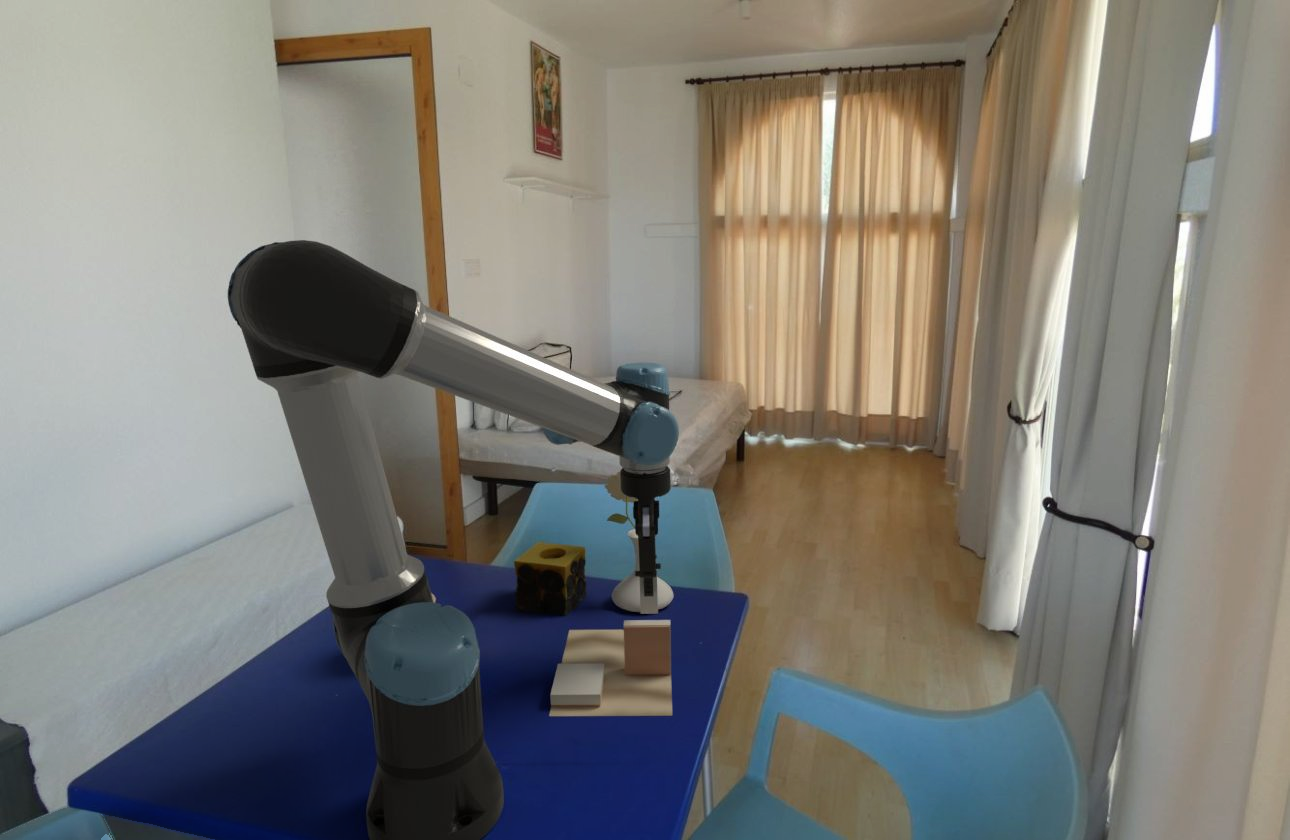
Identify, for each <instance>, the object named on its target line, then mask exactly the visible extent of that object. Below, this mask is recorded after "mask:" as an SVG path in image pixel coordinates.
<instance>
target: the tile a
mask: <svg viewBox="0 0 1290 840" xmlns="http://www.w3.org/2000/svg"><path fill="white" fill-rule="evenodd" d="M604 675H605V666H604V664H561V663H557V666H556V671H555V674H554V679H553V683H552V687H551V691H550V694H549V695H550V706H551V705H552V707H600V705H601V699H602V691H603V683H604Z"/></svg>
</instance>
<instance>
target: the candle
mask: <svg viewBox="0 0 1290 840" xmlns="http://www.w3.org/2000/svg"><path fill="white" fill-rule="evenodd" d="M586 559H587V558H586V547H585V546H580V545H569V544H560V543H548V542H541V541H537V542H535V543H534V544H533V545H532V546H531V547H529V548H528V550H526V551H525V552H524V553H522V554H521V555H519V556H518V557H517V558H516V559H514V561H513V562H514V563H513V566H514V570H515V571H514V572H515V576H516V588H515V592H514V594H515V601H514V602H515V612H528V613H539V614H552V615H558V616H562V617H563V616H564V617H567V616H568V615H569V614H570V612H573V611H574V610H575V609H576V608H578V606H579V604H580V603H581V602H582V601H583V599H584V598H586V597H587V581H586V568H585V567H586V563H587V562H586V561H587V560H586Z"/></svg>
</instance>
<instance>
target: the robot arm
mask: <svg viewBox="0 0 1290 840" xmlns="http://www.w3.org/2000/svg"><path fill="white" fill-rule="evenodd" d="M229 279H230V280H229V282H228V289H227V303H228V307H229V311H230V313H231V316H232V318H233V319H234V321H235V322H236V324H237V326H238V327H239V328H240V329H241V332H242V335H243V338H244V342H245V345H246V347H247V351H248V354H249V357H250V360H251V363H252V366H253V370H254V373H255V376H256V378H257V380H258V381H260V382H262V383H264V384H265V385H268V386H270V387H272V388H273V389H274V390H275V391H276V392H277V394H278V395H277V396H278V398H279V401H280V405H281V408H282V411H283V414H284V417H285V420H286V423H287V428H288V430H289V433H290V437H291V440H292V444H293V446H294V449H295V452H296V456H297V459H298V462H299V465H300V468H301V473H302V475H303V479H304V481H305V485H306V489H307V491H308V494H309V498H310V501H311V504H312V508H313V510H314V511H313V512H314V515H315V517H316V521H317V524H318V527H319V531H320V533H321V536H322V540H323V543H324V546H325V550H326V553H327V556H328V559H329V562H330V565H331V569H332V571H333V574H334V575H333V576H334V579H333V580H332V582H331V583H330V585H329V586H328V588H327V591H326V600H327V603H328V606H329V609H330V612H331V615H332V626H333V637H334V639H335V642H336V645H337V647H338V649H339V651H340V652H341V654H342V655H343V657H345V659H346V661H347V663H348V665H349V666H350V669H351V670H352V672H353V674H354V676H355V678H356V679H357V681H358V683H359V685H360V687H361V689H362V691H363V693H364V695H365V697H366V698H367V701H368V702H369V707H370V709H371V710H370V712H371V716H372V724H373V734H374V740H375V741H374V743H375V752H376V759H377V763H376V768H375V771H374V775H373V780H372V783H371V786H370V792H369V795H368V798H367V803H366V810H365V818H366V827H367V834H368V838H369V840H482V839H483V838H484V837H485V836H486V835H487V834H489V832H490V831H491V830H492V829H493V827H494V826H495V825H496V823H497V822H498V820H499V819H500V817H501V814H502V811H503V809H504V799H505V798H504V786H503V779H502V776H501V775H502V774H501V772H500V770H499V767H498V766H497V764H496V762H495V760H494V758H493V755H492V753H491V751H490V749H489V747H488V745H487V743H486V741H485V737H484V721H483V720H484V719H483V706H482V704H483V702H482V691H481V675H480V673H481V672H480V671H481V670H480V661H481V660H480V659H481V658H480V656H481V653H480V647H479V642H478V638H477V635H476V629H475V627H474V624H473V622H472V621H471V619H470V618H469V616H468V615H467V614H465V612H464V611H462V610H460V609H458V608H456V607H454V606H452V605H449V604H447V605H443V606H442V605H441V603H440V602H437V603H434V602H433V598H432V595H431V593H432V591H431V587H430V585H429V584H430V583H429V580H428V577H427V573H426V569H425V566H424V563H423V561H421V560H420V559H419V558H416V557H414V556H411V555H410V554H408V553H407V549H406V546H405V544H406V543H405V541H404V538H403V534H402V531H401V530H402V529H401V527H400V523H399V519H398V515H397V512H396V509H395V505H394V504H395V503H394V502H393V497H392V493H391V490H390V486H389V483H388V479H387V476H386V472H385V468H384V464H383V461H382V457H381V453H380V451H379V446H378V442H377V439H376V436H375V431H374V428H373V425H372V422H371V417H370V413H369V410H368V405H367V403H366V398H365V395H364V390H363V387H362V384H361V380H360V377H359V373H363V374H366V375H369V376H371V377H373V378H376V379H377V378H378V379H380V380H384V379H385V378H388V377H391V376H393V375H398V376H401V377H404V378H406V379H409V380H411V381H415V382H418V383H420V384H423V385H426V386H427V387H430V388H433V389H436V390H439V391H442V392H443V393H444V392H445V393H446V394H450V395H452V396H455V397H458V398H460V399H464V400H467V401H469V402H473V403H475V404H477V405H480V406H483V407H485V408H489V409H491V410H493V411H496V412H499V413H502V414H505V415H507V416H510V417H512V418H516V419H519V420H521V421H524V422H526V423H530V424H532V425H535V426H538V427H540V428H541V430H542V432H543V434H544V436H545V439H547V440H548V441H549V442H550V443H551V444H552V445H555V446H557V445H558V446H559V445H566V444H568V445H572V444H574V443H578V442H579V443H581V442H582V443H584V444H587V445H590V446H591V447H592V446H593V447H594V448H597V449H599V450H601V451H605V452H606V453H607V452H608V453H610V454H613V455H615V456H618V458H619V460H618V461H619V466H620V467H621V469H620V470H619V472H620V478H621V491H622V493H623V494H624V495H626V496H628V497H634V498H637V499H638V501H634V502H633V506H632V515H633V516H632V517H633V519H634V525H635V528H634V529H635V533H636V535H638V545H639V568H640V571H635V577H639V578H640V610H641V612H640V614H641V615H643V614H647V615H651V614H652V615H653V614H654V615H655V614H659V610H658V592H657V577H658V571H657V570H661V567H662V566H661V563H657V561H656V560H657V558H658V557H657V554H656V549H657V548H656V536H657V535H658V534H659V518H660V500H655V499H656V498H657V497H664V496H665V495H667V494H669V493H670V491H671V489H672V488H671V487H672V484H671V482H672V480H671V468H670V467H669V465H670V461H671V460H670V457H671V456H672V454H673V453H674V451H675V449H676V446H678V445H677V443H678V441H679V436H680V435H679V434H680V432H679V431H680V430H679V423H678V421H677V418H676V416H675V415H674V414H673V412H671V410H670V396H671V393H670V387H669V378H668V371H667V368H666V367H665V366H664V365H662V364H659V363H655V362H631V363H625V364H622V365H619V366H618V367H617V368H616V369H617V370H616V375H615V380H614V381H609V382H604V383H603V382H602V381H598V380H597V379H594V378H592V377H589V376H587V375H585V374H583V373H580V372H578V371H576V370H573V369H571V368H569V367H567V366H565V365H563V364H560V363H557V362H555V361H552V360H551V359H548V358H547V357H546V358H545V357H544V356H541V355H539V354H537V353H535V352H532V351H530V350H528V349H526V348H524V347H521V346H518V345H517V344H514V343H512V342H509V341H507V340H505V339H503V338H502V337H501V338H500V337H498V336H496V335H493V334H491V333H489V332H486V331H484V330H482V329H479V328H477V327H475V326H473V325H471V324H468V323H466V322H464V321H461V320H459V319H457V318H456V317H455V318H454V317H452V316H450V315H447V314H445V313H443V312H441V311H438V310H437V309H434V308H432V307H429V306H428V305H425V304H424V303H423V301H422V298H421V296H420V294H419V292H418V291H417V290H416V289H414V288H411V287H409V286H407V285H404V284H402V283H400V282H398V281H396V280H394V279H392V278H390V277H388V276H387V275H384V274H382V273H381V272H379V271H377V270H376V269H373V268H371V267H370V266H368V265H366V264H364V263H362V262H361V261H358V260H357V259H355V258H354V257H351V256H350V255H349V254H347V253H345V252H343V251H341V250H339V249H337V248H335V247H333V246H332V245H328V244H325V243H322V242H319V241H315V240H314V241H313V240H305V239H299V240H287V241H282V242H281V241H279V242H278V241H277V242H272V243H269V244H264V245H260V246H259V247H257V248H256V249H254V250H251V251H250V252H248V253H247V254H246V255H245V256H244V257H243V258H242V259H241V260H240V261H239V262H238V264H237V265H236V266H235V267H234V270H233V271H232V273H231V275H230V278H229ZM358 372H359V373H358Z"/></svg>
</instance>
